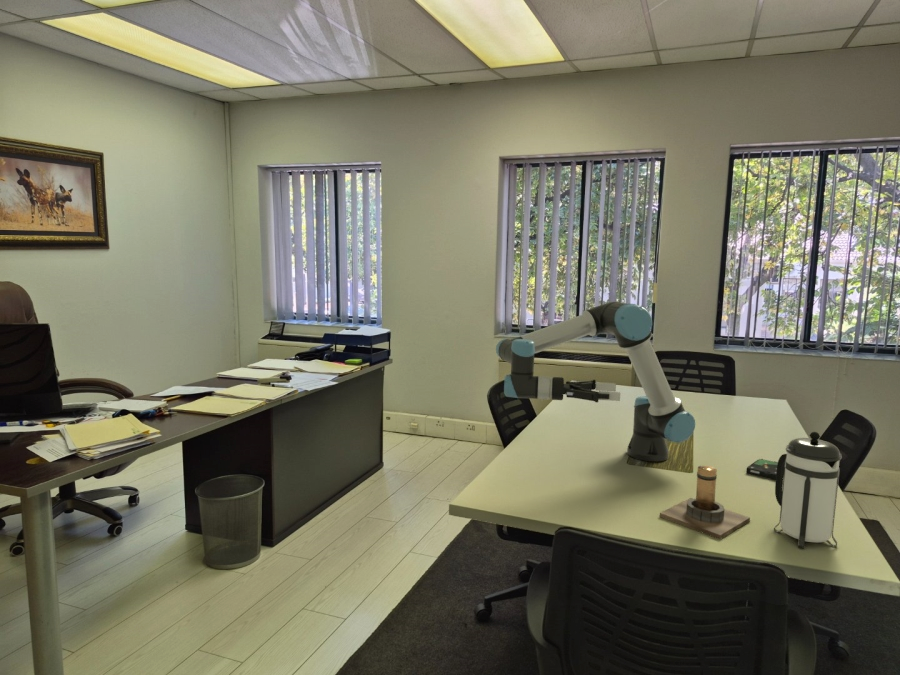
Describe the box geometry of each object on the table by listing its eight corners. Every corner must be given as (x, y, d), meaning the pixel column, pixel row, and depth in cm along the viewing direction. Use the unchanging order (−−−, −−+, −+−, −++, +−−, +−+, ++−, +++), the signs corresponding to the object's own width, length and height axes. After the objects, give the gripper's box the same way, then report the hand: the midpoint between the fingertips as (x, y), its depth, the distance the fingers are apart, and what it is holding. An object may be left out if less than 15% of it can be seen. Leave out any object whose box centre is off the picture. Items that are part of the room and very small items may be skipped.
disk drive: (777, 482, 206) (789, 471, 217) (778, 474, 206) (790, 464, 216) (745, 475, 213) (758, 464, 224) (746, 467, 213) (759, 457, 223)
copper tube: (700, 509, 178) (703, 464, 176) (717, 515, 174) (720, 469, 172) (691, 514, 175) (693, 468, 173) (708, 520, 171) (711, 473, 169)
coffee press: (842, 537, 164) (854, 431, 160) (830, 558, 153) (843, 444, 149) (772, 518, 176) (782, 418, 172) (757, 536, 164) (766, 430, 160)
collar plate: (690, 501, 187) (691, 488, 186) (749, 521, 173) (750, 507, 173) (659, 516, 176) (660, 503, 175) (720, 539, 162) (721, 524, 161)
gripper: (551, 391, 210) (613, 394, 207) (550, 408, 186) (621, 412, 182) (551, 370, 209) (614, 373, 206) (551, 384, 185) (622, 388, 181)
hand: (617, 391), depth 194 cm, fingers open, 13 cm apart
